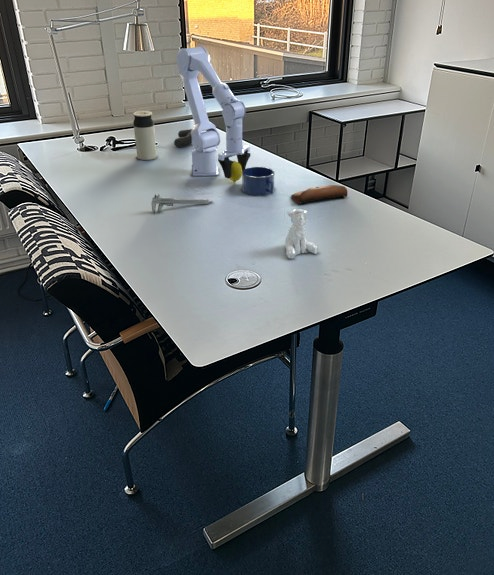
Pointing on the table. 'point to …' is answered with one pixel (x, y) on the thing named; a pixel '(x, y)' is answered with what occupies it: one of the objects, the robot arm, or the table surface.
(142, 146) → the travel mug
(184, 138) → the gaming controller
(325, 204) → the table surface
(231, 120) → the robot arm
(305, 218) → the sitting furry creature
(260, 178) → the blue mug
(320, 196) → the sunglasses case
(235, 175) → the lemon
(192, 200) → the caliper
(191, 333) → the table surface
